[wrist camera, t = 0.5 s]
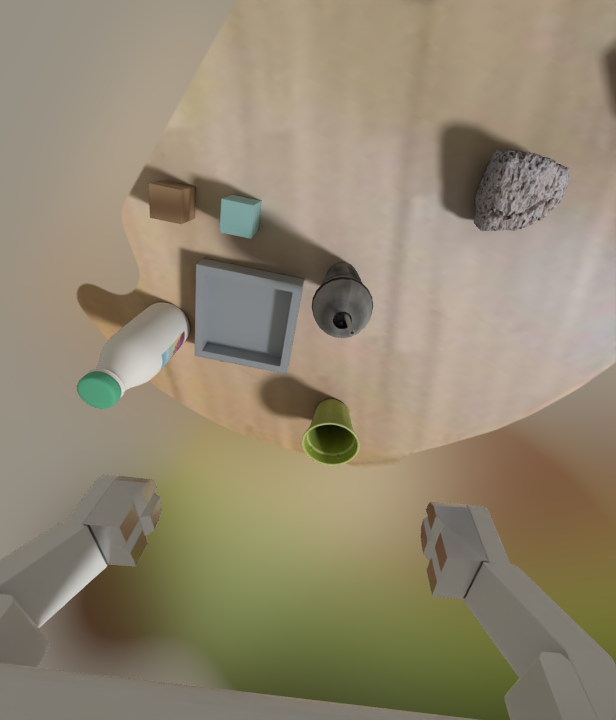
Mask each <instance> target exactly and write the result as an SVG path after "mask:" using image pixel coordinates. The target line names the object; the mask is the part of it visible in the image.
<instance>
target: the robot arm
mask: <svg viewBox="0 0 616 720" xmlns="http://www.w3.org/2000/svg"><path fill="white" fill-rule="evenodd" d="M156 488H157V486H156V484H155V481H154V480H152V479H143V478H133V477H124V476H114V475H102V476H101V477H99V478H98V479H97V480H96V481H95V483H94V484H93V485H92V487H91V488H90V489H89V490H88V492H87V493H86V495H85V496H84V497H83V498H82V500H81V501H80V502H79V504H78V505H77V507H76V508H75V509H74V510H73V512H72V513H71V514H70V516H69V517H68V518H67V520H66V521H65V522H64V523H58V524H57V525H55V526H53V527H52V528H50V529H49V530H47V531H45V532H44V533H42V534H41V535H39V536H37V537H36V538H34V539H33V540H31V541H29V542H28V543H26V544H25V545H23V546H22V547H20V548H19V549H17V550H15V551H14V552H12V553H11V554H9V555H7V556H6V557H4V558H3V559H1V560H0V720H476V719H468V718H460V717H451V716H443V715H434V714H426V713H418V712H409V711H401V710H393V709H384V708H376V707H367V706H359V705H350V704H342V703H334V702H325V701H317V700H308V699H299V698H291V697H283V696H274V695H265V694H258V693H249V692H241V691H231V690H224V689H215V688H207V687H198V686H190V685H182V684H173V683H165V682H156V681H148V680H139V679H131V678H123V677H114V676H106V675H105V676H104V675H97V674H89V673H80V672H72V671H64V670H55V669H46V668H38V665H39V664H40V662H41V660H42V658H43V657H44V655H45V653H46V651H47V650H48V648H49V640H48V639H47V637H46V636H45V635H44V634H43V633H42V631H41V630H40V629H39V627H40V626H41V625H43V624H44V623H45V622H46V621H47V620H48V619H49V618H50V617H52V616H53V615H54V614H55V613H56V612H57V611H58V610H59V609H60V608H61V607H62V606H64V605H65V604H66V603H67V602H68V601H69V600H70V599H71V598H73V596H75V595H76V594H77V593H78V592H79V591H80V590H81V589H82V588H84V587H85V586H86V585H87V584H88V583H89V582H90V581H91V580H92V579H93V578H95V577H96V576H97V575H98V574H99V573H100V572H101V571H102V570H103V569H105V568H106V567H107V565H106V564H110V565H125V566H136V565H137V563H138V561H139V559H140V557H141V555H142V553H143V551H144V549H145V547H146V545H147V539H146V535H148V534H149V533H150V532H151V531H153V530H154V529H155V527H156V525H157V523H158V521H159V518H160V513H161V499H160V497H159V496H158V495H157V494H156V493H155V489H156ZM426 512H427V515H428V517H426V518H425V519H423V522H422V526H421V544H422V550H423V554H424V555H425V556H426V557H427V559H428V560H429V561H430V562H429V565H428V568H427V574H428V579H429V583H430V588H431V592H432V596H440V597H448V598H456V599H464V602H465V604H466V605H467V606H468V608H469V609H470V611H471V612H472V613H473V615H474V616H475V617H476V619H477V620H478V622H479V623H480V624H481V626H482V627H483V628H484V630H485V631H486V633H487V634H488V635H489V637H490V638H491V640H492V641H493V642H494V644H495V645H496V647H497V648H498V649H499V651H500V652H501V654H502V655H503V656H504V658H505V659H506V660H507V662H508V663H509V665H510V666H511V667H512V669H513V670H514V671H515V673H516V674H517V676H518V677H519V679H518V681H517V682H516V683H515V684H514V685H513V686H512V688H511V689H510V690H509V691H508V692H507V694H506V696H505V697H504V699H505V703H506V706H507V710H508V713H509V716H510V720H616V665H615V663H614V661H613V659H612V657H611V656H610V655H608V654H607V653H606V652H605V651H604V650H603V649H602V648H601V647H600V646H599V645H598V644H597V643H596V642H595V641H594V640H593V639H592V638H591V637H590V636H589V635H588V634H587V633H586V632H585V631H584V630H583V629H582V628H581V627H580V626H579V625H578V624H577V623H576V622H574V621H573V620H572V619H571V618H570V617H569V616H568V615H567V614H566V613H565V612H564V611H563V610H562V609H561V608H560V607H559V606H558V605H557V604H556V603H555V602H554V601H553V600H552V599H551V598H550V597H549V596H548V595H546V594H545V593H544V591H543V590H541V589H540V588H539V587H538V586H537V585H536V584H535V583H534V582H533V581H532V580H531V579H530V578H529V577H528V576H527V575H526V574H525V573H524V572H523V571H522V570H521V569H520V568H519V567H518V566H517V565H511V564H510V562H509V559H508V557H507V554H506V552H505V550H504V547H503V545H502V543H501V540H500V538H499V536H498V533H497V531H496V528H495V526H494V524H493V521H492V519H491V516H490V514H489V512H488V510H487V509H486V507H484V506H474V505H465V504H453V503H438V502H430V503H429V504H428V506H427V509H426Z"/></svg>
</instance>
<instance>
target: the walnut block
mask: <svg viewBox="0 0 616 720" xmlns="http://www.w3.org/2000/svg"><path fill="white" fill-rule="evenodd" d="M148 184H149V205H150V218H154V219H159V220H164V221H169V222H173V223H178V224H183V223H185V222H187V221H189V220H192V219H194V218H195V195H196V187H194V186H190V185H185V184H180V183H175V182H171V181H159V182H153V183H148Z"/></svg>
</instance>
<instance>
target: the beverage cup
mask: <svg viewBox="0 0 616 720" xmlns="http://www.w3.org/2000/svg"><path fill="white" fill-rule="evenodd" d="M372 309H373V301H372V296H371V294H370V292H369V290H368V289H367V288H366V287H365V286H364V285H363V284H362V282H361V279H360V277H359V275H358V273H357V271H356V270H355V268H354V267H353V266H352V265H350V264H348V263H345V262H340V263H336V264H335V265H333V266H332V267H331V268H330V269H329V271H328V272H327V274H326V277H325V279H324V281H323V284H322V285H321V286H320V287H319V288H318V289H317V291H316V293H315V295H314V297H313V301H312V311H313V315H314V318H315V321H316V322H317V324H318V326H319V327H320V328H321V329H322V330H323V331H324V332H325V333H327V334H328V335H331V336H333V337H338V338H346V337H351V336H353V335H356V334H358V333H359V332H360V331H361V330H362V329H363V328H365V326H366V325H367V323H368V321H369V320H370V317H371V314H372Z"/></svg>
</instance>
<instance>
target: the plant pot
mask: <svg viewBox="0 0 616 720" xmlns="http://www.w3.org/2000/svg"><path fill="white" fill-rule="evenodd" d="M302 447H303V449H304V451H305V453H306V454H307V455H308V456H309V457H310V458H311V459H312V460H314V461H316V462H318V463H320V464H324V465H331V466H335V465H342V464H345V463H347V462H349V461H351V460H352V459H353V458H354V457H355V456H356V455H357V453H358V451H359V439H358V437H357V435H356V434H355V433H354V431H353V428H352V424H351V419H350V415H349V410H348V408H347V406H346V405H345V404H344V403H342V402H340V401H338V400H335V399H328V400H324V401H322V402H321V403H320V404H319V405H318V406H317V408H316V410H315V413H314V417H313V420H312V422H311V425H310V427H309V429H308V430H307V431H306V432H305V434H304V435H303V438H302Z"/></svg>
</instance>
